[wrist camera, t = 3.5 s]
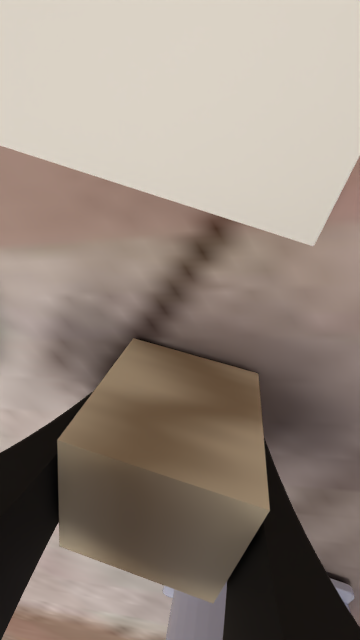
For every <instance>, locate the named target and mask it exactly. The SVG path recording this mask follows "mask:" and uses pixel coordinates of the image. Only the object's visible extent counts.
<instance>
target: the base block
mask: <svg viewBox="0 0 360 640" xmlns="http://www.w3.org/2000/svg"><path fill="white" fill-rule="evenodd" d="M0 146H3V147H7V148H10V149H13V150H16V151H19V152H22V153H25V154H28V155H31V156H34V157H38V158H41V159H44V160H47V161H50V162H53V163H56V164H59V165H62V166H65V167H69V168H72V169H75V170H78V171H81V172H84V173H87V174H90V175H93V176H96V177H100V178H103V179H106V180H109V181H112V182H115V183H118V184H121V185H124V186H128V187H131V188H134V189H137V190H140V191H143V192H146V193H149V194H152V195H155V196H159V197H162V198H165V199H168V200H171V201H174V202H177V203H180V204H183V205H186V206H190V207H193V208H196V209H199V210H202V211H205V212H208V213H211V214H214V215H217V216H221V217H224V218H227V219H230V220H233V221H236V222H239V223H242V224H245V225H248V226H252V227H255V228H258V229H261V230H264V231H267V232H270V233H273V234H276V235H280V236H283V237H286V238H289V239H292V240H295V241H298V242H301V243H304V244H307V245H311V246H314V245H315V243H316V241H317V239H318V237H319V235H320V233H321V231H322V229H323V227H324V225H325V223H326V221H327V219H328V217H329V215H330V213H331V211H332V209H333V207H334V205H335V203H336V201H337V199H338V197H339V195H340V193H341V191H342V189H343V187H344V185H345V183H346V181H347V179H348V177H349V175H350V174H351V172H352V170H353V168H354V166H355V164H356V162H357V160H358V158H359V156H360V0H0Z"/></svg>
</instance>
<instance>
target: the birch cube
mask: <svg viewBox="0 0 360 640" xmlns="http://www.w3.org/2000/svg"><path fill="white" fill-rule="evenodd" d="M57 450H58V498H59V546H60V547H63V548H65V549H68V550H71V551H73V552H76V553H79V554H82V555H84V556H87V557H90V558H92V559H95V560H98V561H100V562H103V563H106V564H108V565H111V566H114V567H116V568H119V569H122V570H124V571H127V572H130V573H132V574H135V575H138V576H140V577H143V578H146V579H148V580H151V581H154V582H157V583H159V584H162V585H165V586H167V587H170V588H173V589H175V590H178V591H181V592H183V593H186V594H189V595H191V596H194V597H197V598H199V599H202V600H205V601H207V602H210V603H214V602H215V600H216V598H217V597H218V595H219V593H220V592H221V590H222V588H223V587H224V585H225V583H226V582H227V580H228V578H229V577H230V575H231V574H232V572H233V570H234V569H235V567H236V565H237V564H238V562H239V560H240V559H241V557H242V555H243V554H244V552H245V551H246V549H247V547H248V546H249V544H250V542H251V541H252V539H253V537H254V536H255V534H256V532H257V531H258V529H259V528H260V526H261V524H262V523H263V521H264V519H265V518H266V516H267V514H268V513H269V511H270V506H269V494H268V482H267V470H266V458H265V447H264V435H263V423H262V411H261V399H260V387H259V375H258V373H255V372H251V371H247V370H244V369H240V368H237V367H233V366H230V365H226V364H223V363H219V362H216V361H212V360H209V359H205V358H201V357H198V356H194V355H191V354H187V353H184V352H180V351H177V350H173V349H170V348H166V347H163V346H159V345H156V344H152V343H148V342H145V341H141V340H138V339H134V338H133V339H132V341H131V342H130V343H129V345H128V346H127V347H126V349H125V350H124V351H123V353H122V354H121V355H120V357H119V358H118V359H117V361H116V362H115V363H114V365H113V366H112V367H111V369H110V370H109V371H108V373H107V374H106V376H105V377H104V378H103V380H102V381H101V382H100V384H99V385H98V386H97V388H96V389H95V390H94V392H93V393H92V394H91V396H90V397H89V398H88V400H87V401H86V402H85V404H84V405H83V406H82V408H81V409H80V410H79V412H78V413H77V414H76V416H75V417H74V418H73V420H72V421H71V422H70V424H69V425H68V426H67V428H66V429H65V430H64V432H63V433H62V434H61V436H60V437H59V438H58V440H57Z"/></svg>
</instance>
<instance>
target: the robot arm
mask: <svg viewBox="0 0 360 640" xmlns="http://www.w3.org/2000/svg"><path fill="white" fill-rule="evenodd" d="M93 392H94V391H93ZM93 392H92V393H93ZM92 393H90V394H89V395H88V396H86V397H85V398H84V399H82V400H81V401H80V402H78V403H77V404H76V405H74V406H73V407H72V408H70V409H69V410H67V411H66V412H65V413H63V414H62V415H60V416H59V417H57V418H56V419H55V420H53V421H52V422H50V423H49V424H47V425H46V426H44V427H42V428H41V429H39V430H38V431H36V432H35V433H33V434H31V435H30V436H28V437H27V438H25V439H24V440H22V441H20V442H18V443H17V444H15V445H13V446H12V447H10V448H8V449H6V450H5V451H3V452H1V453H0V640H1V639H2V637H3V634H4V632H5V630H6V628H7V626H8V624H9V622H10V620H11V618H12V615H13V613H14V611H15V609H16V607H17V605H18V603H19V601H20V598H21V596H22V594H23V592H24V590H25V588H26V586H27V584H28V582H29V580H30V578H31V576H32V574H33V572H34V570H35V568H36V566H37V563H38V561H39V559H40V557H41V555H42V553H43V551H44V549H45V547H46V545H47V543H48V541H49V539H50V537H51V535H52V534H53V532H54V530H55V528H56V526H57V524H58V522H59V498H58V450H57V440H58V438H59V437H60V436H61V434H62V433H63V432H64V430H65V429H66V428H67V426H68V425H69V424H70V422H71V421H72V420H73V418H74V417H75V416H76V414H77V413H78V412H79V410H80V409H81V408H82V406H83V405H84V404H85V402H86V401H87V400H88V398H89V397H90V396H91V394H92ZM264 447H265V458H266V470H267V482H268V494H269V506H270V511H269V513H268V514H267V516H266V518H265V519H264V521H263V523H262V524H261V526H260V528H259V529H258V531H257V532H256V534H255V536H254V537H253V539H252V541H251V542H250V544H249V546H248V547H247V549H246V551H245V552H244V554H243V555H242V557H241V559H240V560H239V562H238V564H237V565H236V567H235V569H234V570H233V572H232V574H231V575H230V577H229V578H228V580H227V582H226V583H225V585H224V587H223V588H222V590H221V592H220V593H219V595H218V597H217V598H216V600H215V602H214V603H210V602H207V601H205V600H202V599H199V598H197V597H194V596H191V595H189V594H186V593H183V592H181V591H178V590H175V589H173V588H170V587H167V586H165V585H164V587H163V593H164V594H165V595H166V596H168V597H171V598H173V600H172V606H171V612H170V617H169V623H168V629H167V635H166V640H360V627H359V626H358V624H357V623H356V621H355V619H354V618H353V616H352V615H351V612H350V608H349V605H348V604H349V603H350V602H351V601H352V600H353V599H354V597H355V596H354V593H353V589H352V587H351V586H349V585H348V584H346V583H343V582H340V581H337V580H334V579H331V578H329V576H328V574H327V573H326V571H325V569H324V567H323V566H322V564H321V562H320V560H319V558H318V557H317V555H316V553H315V551H314V549H313V547H312V545H311V543H310V541H309V539H308V538H307V536H306V534H305V532H304V529H303V527H302V525H301V523H300V521H299V519H298V517H297V515H296V513H295V511H294V509H293V507H292V505H291V502H290V500H289V498H288V495H287V493H286V491H285V489H284V486H283V484H282V482H281V479H280V477H279V475H278V472H277V470H276V467H275V465H274V462H273V460H272V457H271V454H270V452H269V449H268V446H267V444H266V441H265V438H264Z"/></svg>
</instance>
